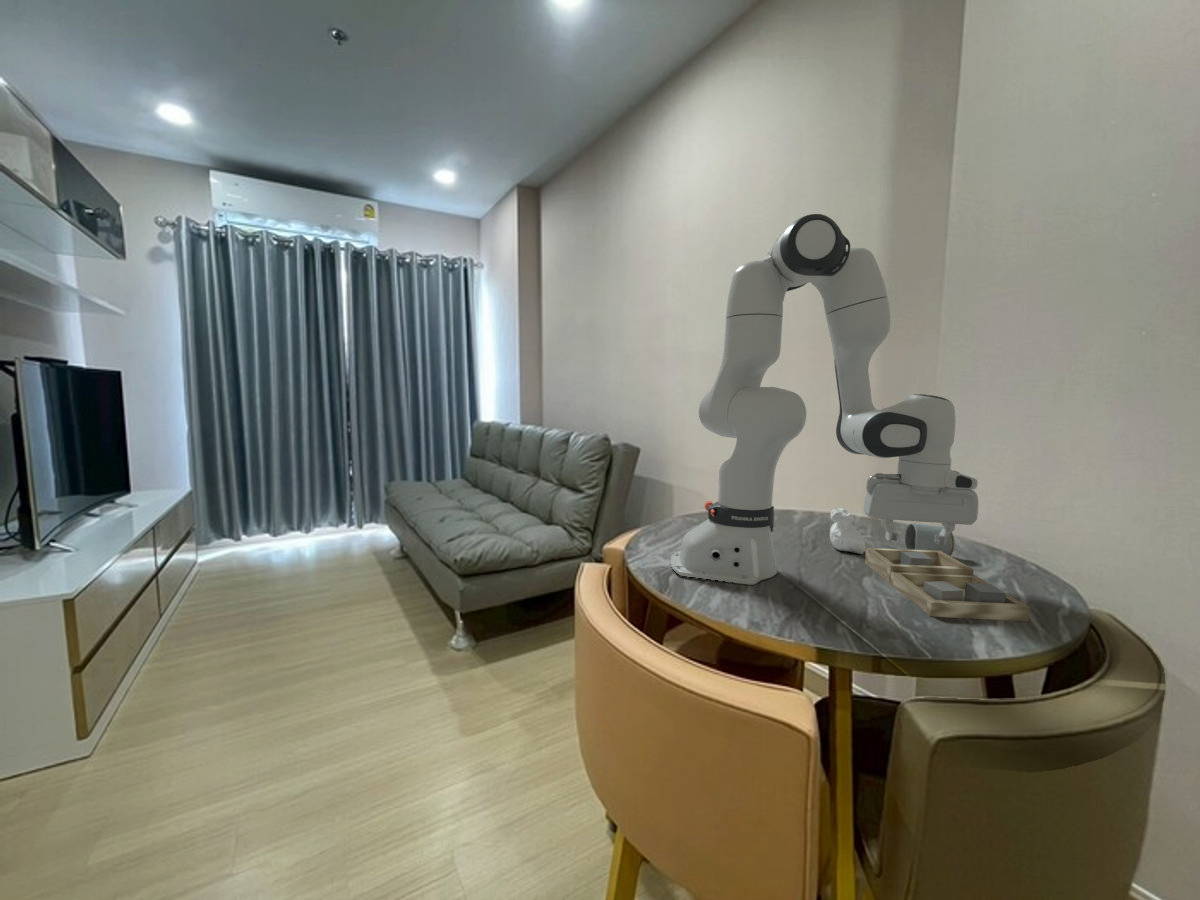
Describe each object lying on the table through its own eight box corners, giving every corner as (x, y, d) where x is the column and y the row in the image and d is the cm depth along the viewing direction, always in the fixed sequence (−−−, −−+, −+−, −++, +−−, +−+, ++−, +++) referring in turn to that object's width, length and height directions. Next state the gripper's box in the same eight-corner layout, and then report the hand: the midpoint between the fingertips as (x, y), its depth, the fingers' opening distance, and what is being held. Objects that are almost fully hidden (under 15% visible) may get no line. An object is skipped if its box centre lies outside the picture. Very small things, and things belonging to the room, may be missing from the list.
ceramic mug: (955, 563, 109) (958, 529, 108) (914, 560, 111) (916, 527, 110) (934, 549, 119) (937, 518, 118) (897, 546, 121) (900, 516, 120)
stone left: (939, 613, 83) (941, 591, 83) (922, 603, 87) (924, 581, 86) (961, 612, 83) (963, 590, 83) (943, 602, 87) (945, 581, 87)
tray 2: (929, 619, 82) (931, 602, 82) (889, 586, 96) (890, 571, 96) (1028, 624, 80) (1030, 607, 80) (972, 589, 94) (974, 575, 94)
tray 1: (889, 585, 96) (890, 566, 96) (864, 565, 107) (866, 547, 107) (971, 589, 95) (973, 569, 94) (938, 568, 106) (940, 550, 105)
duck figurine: (831, 550, 124) (806, 516, 123) (855, 532, 124) (831, 498, 123) (856, 567, 113) (829, 529, 111) (883, 547, 112) (856, 510, 111)
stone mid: (909, 576, 99) (910, 557, 99) (899, 569, 103) (901, 551, 103) (930, 577, 99) (932, 558, 98) (919, 570, 103) (921, 552, 102)
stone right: (977, 614, 83) (979, 591, 82) (963, 603, 87) (965, 582, 86) (1003, 615, 82) (1006, 593, 82) (988, 605, 86) (990, 583, 86)
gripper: (874, 475, 96) (867, 542, 98) (987, 481, 94) (978, 550, 95) (862, 470, 103) (855, 534, 104) (967, 476, 100) (959, 541, 102)
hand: (915, 542), depth 100 cm, fingers open, 8 cm apart
